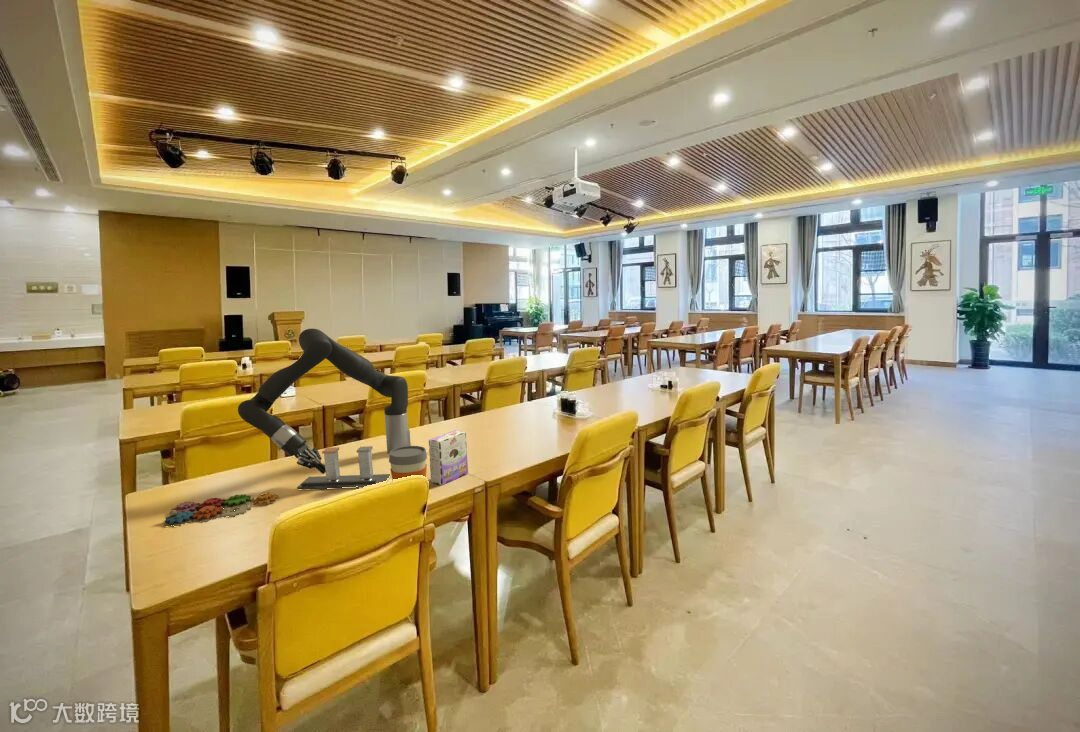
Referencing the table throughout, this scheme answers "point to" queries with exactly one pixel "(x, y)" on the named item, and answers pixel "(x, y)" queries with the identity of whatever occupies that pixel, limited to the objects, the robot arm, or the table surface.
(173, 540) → the table surface
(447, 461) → the candy box
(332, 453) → the sliding pointer
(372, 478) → the bolt plate
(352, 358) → the robot arm
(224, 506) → the gear puzzle
